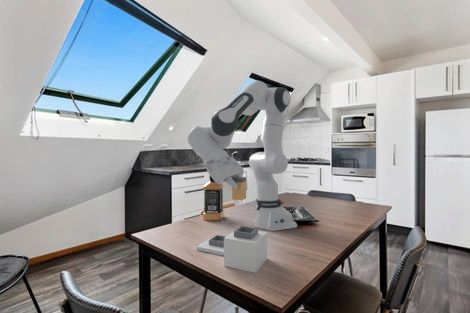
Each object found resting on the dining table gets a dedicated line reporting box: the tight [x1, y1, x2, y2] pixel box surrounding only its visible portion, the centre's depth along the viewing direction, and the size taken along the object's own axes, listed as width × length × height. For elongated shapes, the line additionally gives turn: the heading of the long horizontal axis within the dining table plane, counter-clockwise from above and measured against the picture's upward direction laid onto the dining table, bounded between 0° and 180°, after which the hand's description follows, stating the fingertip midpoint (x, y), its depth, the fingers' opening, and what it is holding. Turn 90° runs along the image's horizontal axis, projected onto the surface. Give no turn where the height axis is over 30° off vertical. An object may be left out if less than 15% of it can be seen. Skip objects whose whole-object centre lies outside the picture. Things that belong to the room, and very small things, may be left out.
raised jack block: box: [223, 225, 268, 274], centre depth 93 cm, size 12×12×12 cm
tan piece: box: [231, 176, 247, 201], centre depth 96 cm, size 4×4×8 cm
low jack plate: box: [196, 234, 227, 257], centre depth 108 cm, size 14×14×4 cm
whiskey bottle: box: [202, 175, 225, 222], centre depth 150 cm, size 10×10×32 cm
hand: (240, 186), depth 96 cm, fingers closed on tan piece, 4 cm apart
